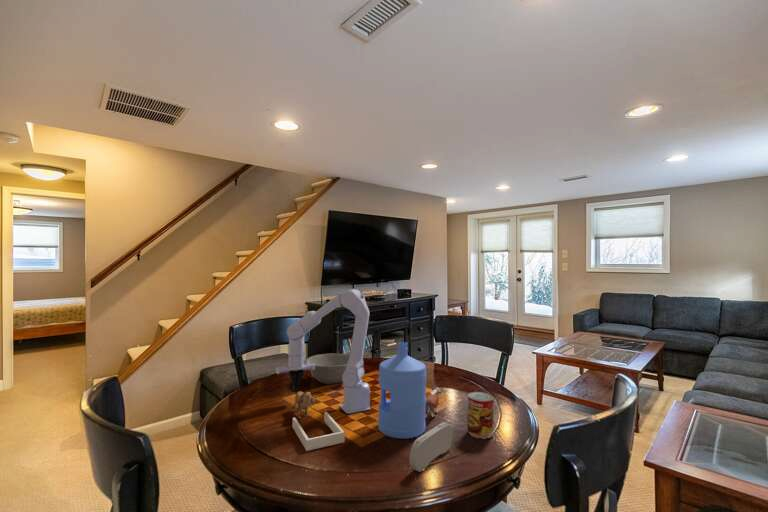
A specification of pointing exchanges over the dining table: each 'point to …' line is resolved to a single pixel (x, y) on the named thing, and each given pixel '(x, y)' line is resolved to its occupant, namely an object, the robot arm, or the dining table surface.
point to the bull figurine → (432, 401)
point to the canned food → (480, 413)
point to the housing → (321, 440)
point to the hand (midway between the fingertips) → (295, 390)
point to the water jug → (402, 395)
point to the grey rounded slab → (430, 446)
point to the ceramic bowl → (328, 367)
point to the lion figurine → (303, 402)
